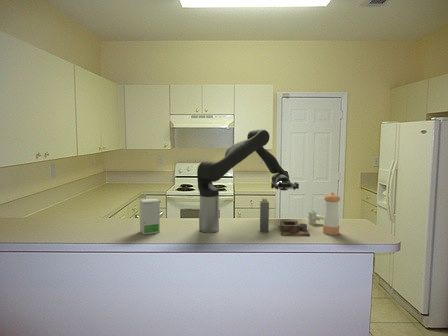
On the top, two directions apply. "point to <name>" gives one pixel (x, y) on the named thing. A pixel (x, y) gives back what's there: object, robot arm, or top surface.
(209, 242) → the top surface
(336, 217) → the pepper shaker
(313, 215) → the valve
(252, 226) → the top surface
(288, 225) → the bit block
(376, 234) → the top surface
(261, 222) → the grey square column
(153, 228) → the skincare box
